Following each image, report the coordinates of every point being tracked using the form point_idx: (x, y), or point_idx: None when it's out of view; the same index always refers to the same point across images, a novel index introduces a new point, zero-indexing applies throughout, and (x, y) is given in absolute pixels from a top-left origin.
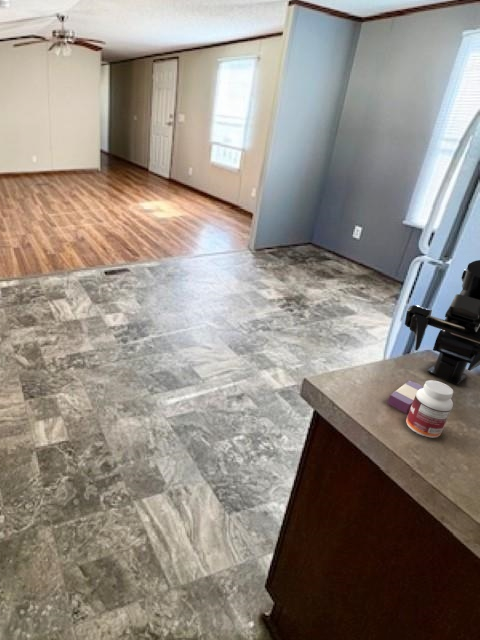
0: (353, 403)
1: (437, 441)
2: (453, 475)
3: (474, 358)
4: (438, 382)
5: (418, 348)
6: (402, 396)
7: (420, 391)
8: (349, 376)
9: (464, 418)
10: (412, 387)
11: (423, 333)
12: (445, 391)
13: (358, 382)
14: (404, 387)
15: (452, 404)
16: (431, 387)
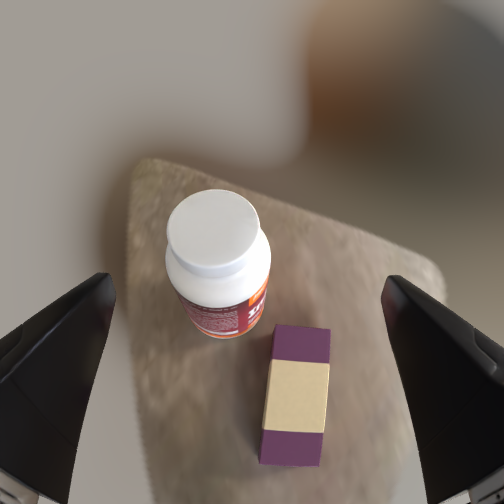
0: (370, 268)
1: None
2: (154, 205)
3: (70, 309)
4: (221, 255)
5: (387, 313)
6: (304, 352)
7: (260, 236)
8: None
9: (154, 435)
10: (300, 430)
11: (458, 343)
12: (190, 214)
13: None
14: (317, 408)
15: (166, 252)
16: (234, 202)
